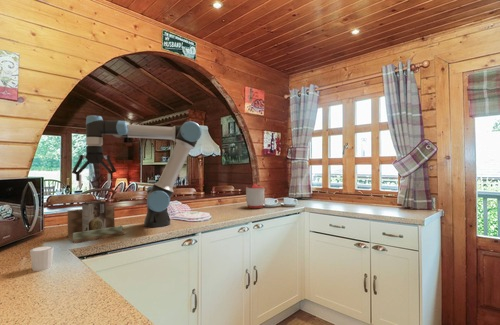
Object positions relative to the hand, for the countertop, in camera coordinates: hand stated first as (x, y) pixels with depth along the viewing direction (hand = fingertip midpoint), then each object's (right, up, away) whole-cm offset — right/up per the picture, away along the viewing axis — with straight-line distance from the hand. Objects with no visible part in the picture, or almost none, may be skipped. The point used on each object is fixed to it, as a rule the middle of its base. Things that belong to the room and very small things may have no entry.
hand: (95, 186), depth 144 cm
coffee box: (0, -24, 0) cm, 24 cm away
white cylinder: (+6, -25, -45) cm, 52 cm away
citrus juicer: (+84, -25, +84) cm, 122 cm away
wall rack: (+1, -25, -1) cm, 25 cm away
